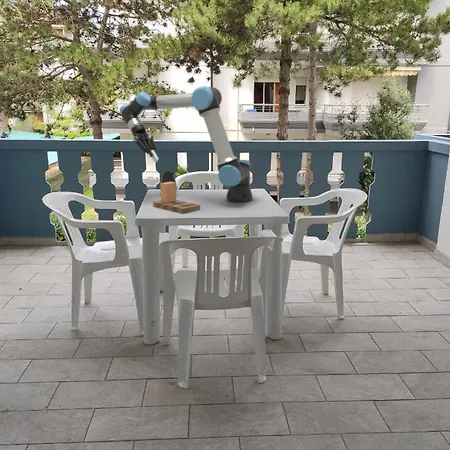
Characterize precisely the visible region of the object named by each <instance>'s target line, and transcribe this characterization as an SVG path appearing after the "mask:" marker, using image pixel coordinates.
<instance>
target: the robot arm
mask: <svg viewBox="0 0 450 450" xmlns="http://www.w3.org/2000/svg"><path fill="white" fill-rule="evenodd" d="M222 98H223V97H222V93H221V91H220V90H219V89H217V88H216V87H213V86H206V85H203V86H199V87H197V88H195V89H194V90H193V92H189V93H188V92H187V93H177V94H165V95H153V96H152V95H151V96H149V94H148V93H147V92H144V91H140V92H139V93H138V94H136V96H135V98H133V100H132V101H131V102H130V103H124V104H123V105H121V106H120V107H119V113H120V115H121V117H122V119H123V121H124V122H125V123H126V125H127V127H128V129H129V130H130V132H131V134H132V135H133V137H134V138H133V139H132V141H133V142H134V143H135V144H136V145H137V146H138V147H139V148H140V149H141V150H142V151H143V153H146V155H148V156H149V157H150V158H151V160H153V162H154V163H158V161H159V157H158V154H157V152H156V150H157V146H156V143H155V140H154V136H153V135H149V134H148V133H147V129H146V128H145V126H144V124H143V123H142V122H141V119H140V118H139V115H141V113H142V112H144V111H156V110H166V109H167V110H168V109H180V108H181V109H182V108H195V109H196V110H197V111H198V115H199V116H200V117H201V118H203V120H204V124H205V126H206V128H207V132H208V134H209V137H210V139H211V140H210V141H211V143H212V147H213V148H214V151H215V155H216V158H217V160H218V162H217V164H216V166H217V168H218V174H217V177H218V180H219V183H220V184H222V185H223V186H225V187H228V189H227V193H226V201H228V202H232V203H233V202H234V203H247V202H251V201H253V199H254V196H253V193H252V189H251V184H250V183H251V162H250V160H249V159H238V157H237V156H235V155H234V151H233V149H232V146H231V143H230V141H229V138H228V135H227V132H226V129H225V127H224V123H223V121H222V118H221V117H222V116H221V115H220V112H221V111H220V110H221V104H222V101H223V99H222Z"/></svg>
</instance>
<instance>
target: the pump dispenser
mask: <svg viewBox="0 0 450 450" xmlns="http://www.w3.org/2000/svg"><path fill="white" fill-rule="evenodd" d="M174 174H176V172H175V171H172V170H170V169H166V170H164V171H163V173H162V175H161V179H160V183H159V190H160V191H161V183H166V182H175V183H176V190H178V186H177V181H176V177H175V175H174Z"/></svg>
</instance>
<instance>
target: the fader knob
mask: <svg viewBox="0 0 450 450" xmlns="http://www.w3.org/2000/svg"><path fill="white" fill-rule="evenodd" d="M176 185H177V182H176V183H175V182H166V183H161V190H160V201H161V202H164V203H168V202H173V201H176V200H177V189H176Z"/></svg>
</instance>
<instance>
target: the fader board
mask: <svg viewBox="0 0 450 450" xmlns="http://www.w3.org/2000/svg"><path fill="white" fill-rule="evenodd" d="M152 206H153V207H154V208H159V209H161V210H166V211H171V212H174V213H177V214H178V213H179V214H181V215H183V214H188V213H192V212H196V211H200V210H201V205H200V204H196V203H192V202H187V201H183V200H179V199H176V201H173V202H168V203H164V202H161V200H158V201H157V200H156V201H153V202H152Z"/></svg>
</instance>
